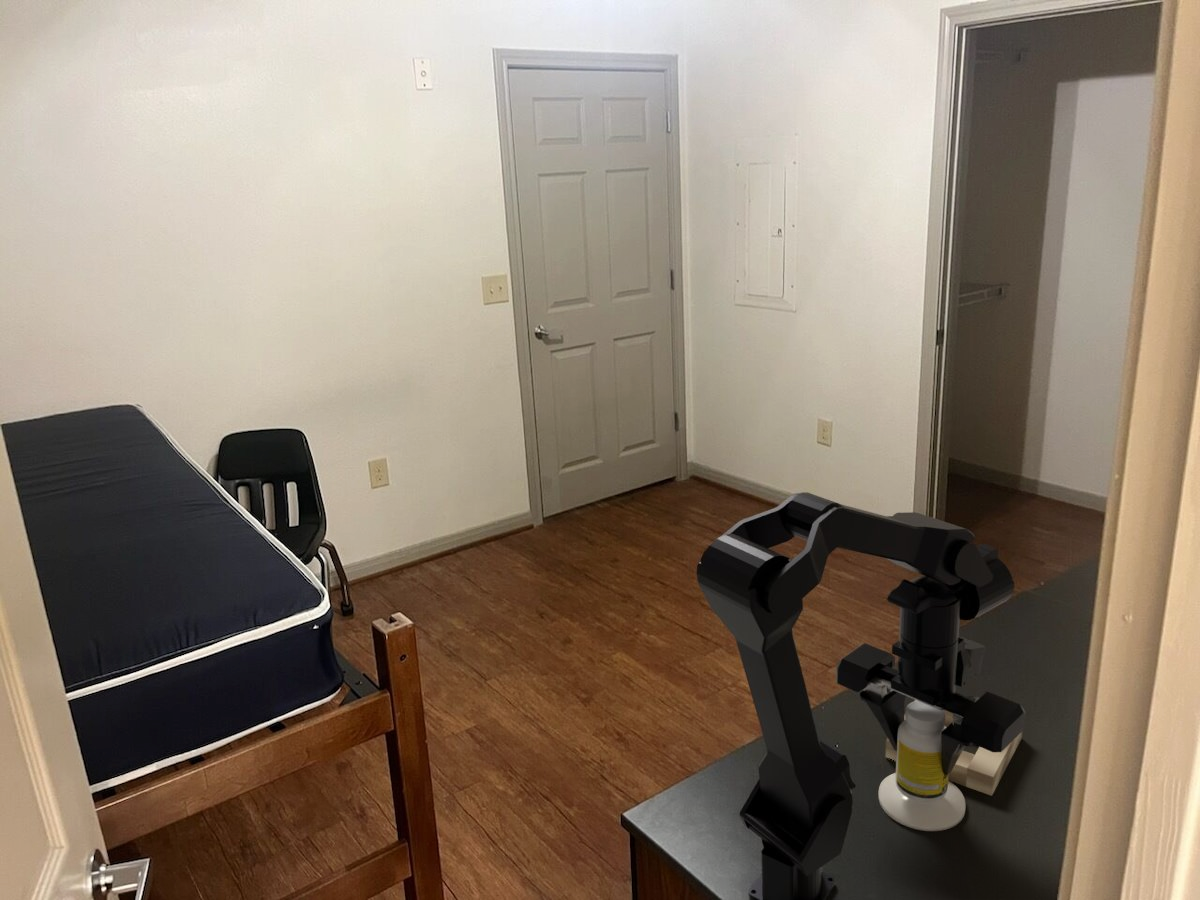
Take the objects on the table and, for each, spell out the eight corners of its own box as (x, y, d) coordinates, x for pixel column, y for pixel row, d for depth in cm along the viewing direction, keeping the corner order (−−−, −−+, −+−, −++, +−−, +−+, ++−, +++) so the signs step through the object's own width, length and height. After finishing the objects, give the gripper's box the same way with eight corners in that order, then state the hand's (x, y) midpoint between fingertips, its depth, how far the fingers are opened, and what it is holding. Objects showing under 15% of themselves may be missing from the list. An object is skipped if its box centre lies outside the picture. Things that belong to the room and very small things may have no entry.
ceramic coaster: (949, 843, 93) (949, 838, 93) (865, 810, 98) (865, 805, 98) (976, 793, 100) (976, 788, 99) (896, 764, 105) (896, 760, 105)
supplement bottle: (951, 806, 95) (956, 728, 92) (898, 802, 96) (901, 725, 93) (943, 772, 100) (947, 697, 97) (892, 769, 101) (895, 694, 98)
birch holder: (991, 795, 99) (993, 777, 98) (885, 757, 106) (886, 740, 106) (1021, 738, 108) (1023, 720, 107) (921, 706, 115) (922, 689, 114)
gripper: (1056, 634, 91) (1043, 763, 95) (889, 579, 104) (886, 695, 109) (1004, 680, 84) (993, 817, 89) (833, 615, 97) (832, 737, 102)
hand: (922, 760), depth 97 cm, fingers closed on supplement bottle, 5 cm apart
